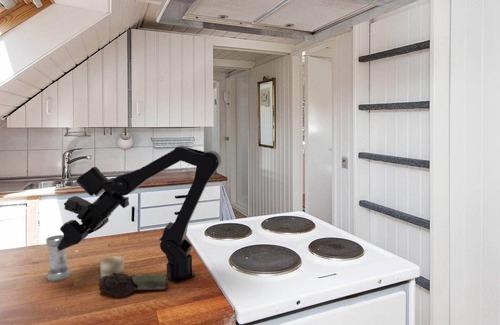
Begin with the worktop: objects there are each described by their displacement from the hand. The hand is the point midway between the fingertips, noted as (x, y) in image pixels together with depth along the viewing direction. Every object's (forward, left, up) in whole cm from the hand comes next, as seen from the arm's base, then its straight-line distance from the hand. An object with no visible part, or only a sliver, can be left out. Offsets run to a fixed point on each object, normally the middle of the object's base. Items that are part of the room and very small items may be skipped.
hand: (67, 243), depth 100 cm
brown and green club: (-11, +21, -11) cm, 26 cm away
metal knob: (+2, -2, -10) cm, 11 cm away
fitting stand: (-10, +9, -10) cm, 16 cm away
